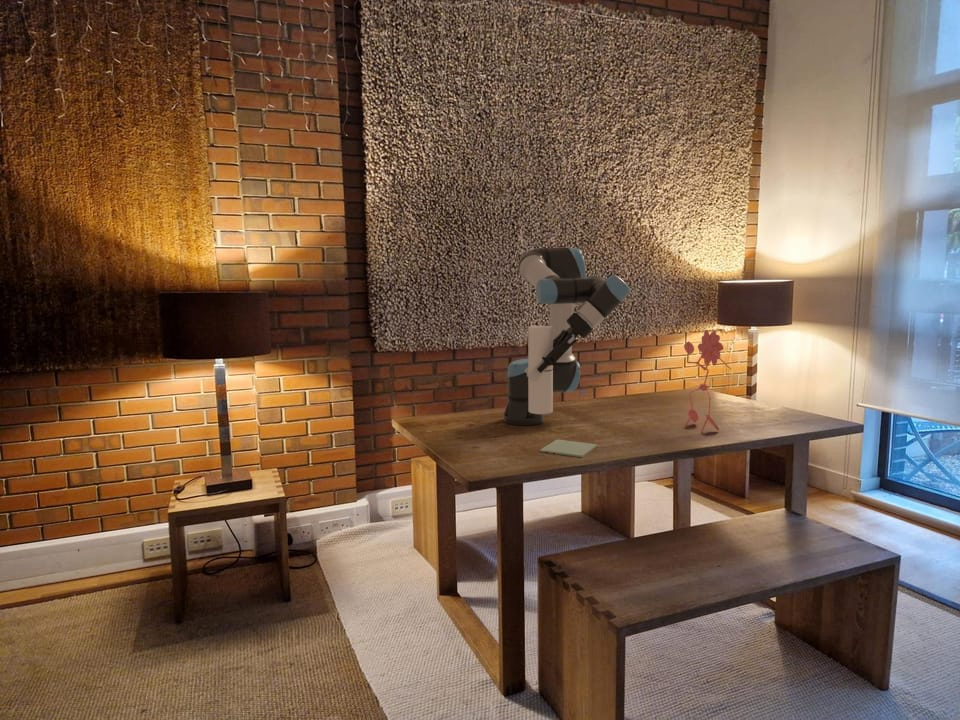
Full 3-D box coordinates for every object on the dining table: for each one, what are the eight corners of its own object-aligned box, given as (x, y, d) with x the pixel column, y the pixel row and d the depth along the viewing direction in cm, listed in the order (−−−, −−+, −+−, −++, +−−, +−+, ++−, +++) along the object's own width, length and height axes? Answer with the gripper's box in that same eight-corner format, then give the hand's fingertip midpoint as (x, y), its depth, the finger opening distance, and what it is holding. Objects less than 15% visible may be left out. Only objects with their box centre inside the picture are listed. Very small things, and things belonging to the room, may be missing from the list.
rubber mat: (539, 451, 200) (539, 449, 200) (556, 441, 213) (556, 439, 213) (582, 457, 194) (582, 455, 194) (597, 446, 206) (597, 444, 206)
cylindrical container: (551, 414, 184) (551, 328, 180) (527, 413, 186) (526, 328, 182) (553, 409, 191) (554, 325, 187) (530, 408, 193) (529, 325, 189)
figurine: (714, 438, 214) (718, 334, 209) (670, 421, 238) (673, 328, 233) (752, 434, 218) (757, 332, 213) (705, 418, 242) (709, 326, 237)
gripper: (600, 333, 175) (541, 392, 177) (587, 326, 195) (534, 379, 197) (581, 314, 174) (522, 373, 176) (569, 308, 194) (516, 362, 196)
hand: (528, 376), depth 187 cm, fingers closed on cylindrical container, 7 cm apart
